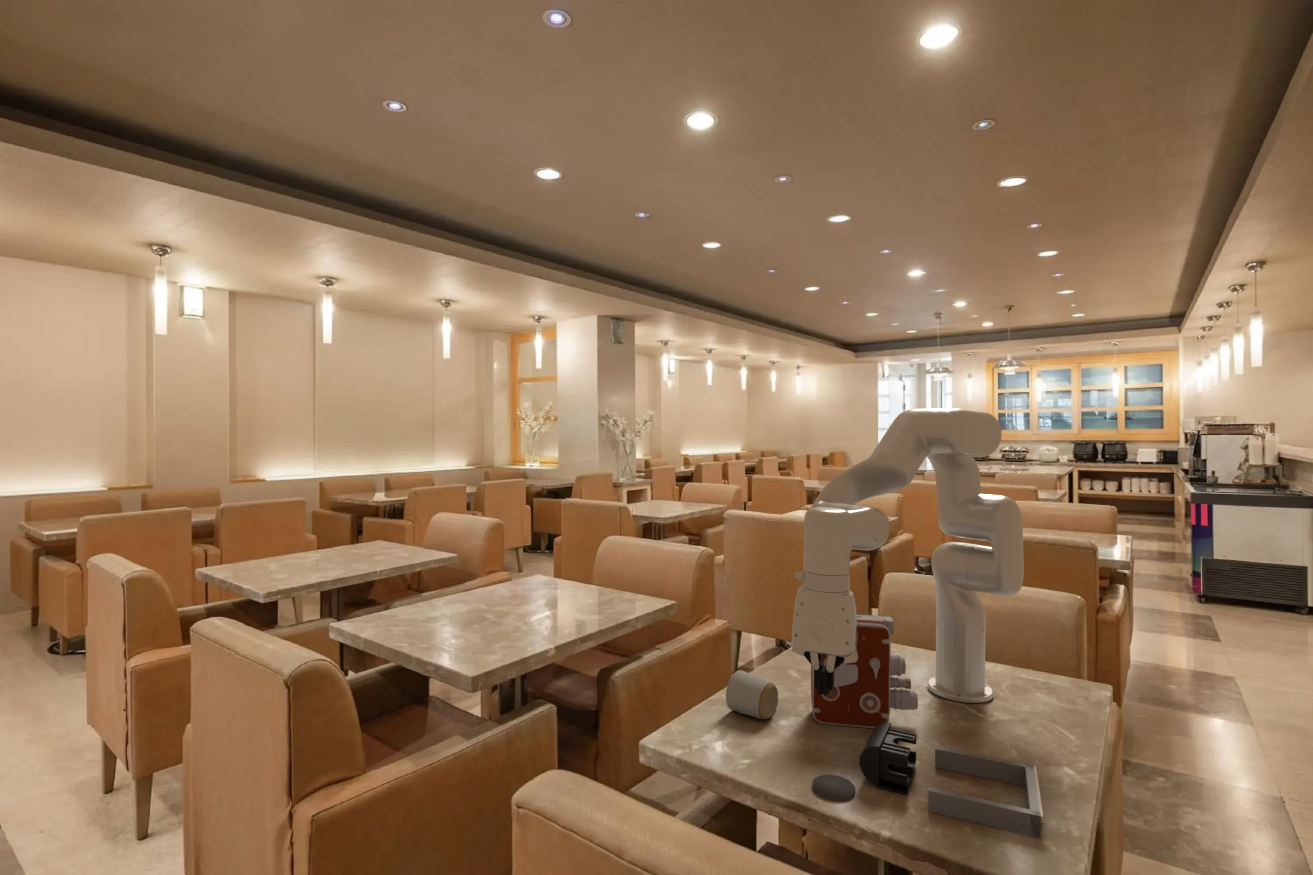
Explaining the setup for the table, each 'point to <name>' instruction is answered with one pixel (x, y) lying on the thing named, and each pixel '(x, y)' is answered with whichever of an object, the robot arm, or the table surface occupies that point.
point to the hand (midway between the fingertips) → (823, 692)
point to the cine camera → (866, 681)
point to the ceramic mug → (751, 695)
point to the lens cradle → (986, 809)
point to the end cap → (889, 759)
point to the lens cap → (833, 788)
